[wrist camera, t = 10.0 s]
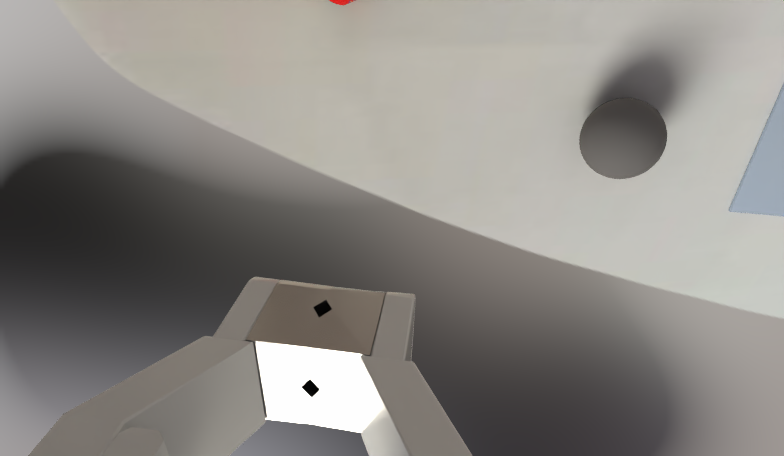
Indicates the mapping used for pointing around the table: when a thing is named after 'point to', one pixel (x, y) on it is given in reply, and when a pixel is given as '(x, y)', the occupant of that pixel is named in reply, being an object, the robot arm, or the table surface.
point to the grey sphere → (623, 138)
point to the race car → (342, 1)
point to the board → (765, 170)
